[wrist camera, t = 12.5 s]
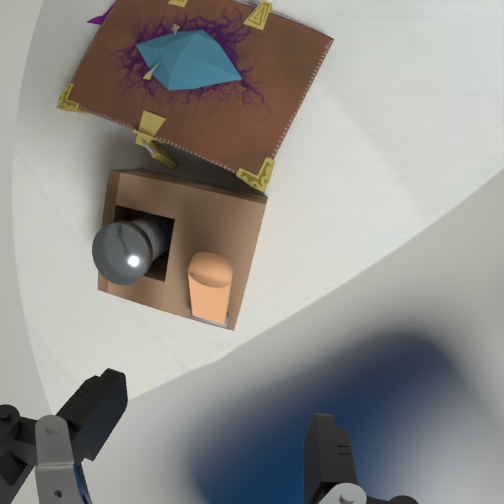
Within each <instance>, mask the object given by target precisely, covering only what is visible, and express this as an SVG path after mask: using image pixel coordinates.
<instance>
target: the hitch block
mask: <svg viewBox="0 0 504 504" xmlns="http://www.w3.org/2000/svg"><path fill="white" fill-rule="evenodd" d="M267 199H268V197H264V196H260V195H256V194H252V193H248V192H243V191H239V190H235V189H231V188H226V187H222V186H218V185H213V184H209V183H204V182H200V181H195V180H191V179H186V178H181V177H177V176H172V175H167V174H162V173H157V172H152V171H147V170H142V169H122V170H110V172H109V178H108V185H107V192H106V199H105V206H104V214H103V223H102V228H103V227H105V226H107V225H110V224H112V223H115V222H118V221H132V220H135V219H137V218H139V211H144V212H148V213H152V214H156V215H160V216H164V217H168V218H173V219H175V223H174V229H173V234H172V240H171V246H170V252H169V259H167V258H163V257H160V256H159V257H157V258H156V259H155V260H154V261H152V264H151V266H150V268H149V270H148V271H147V272H146V273H145V274H144V275H143V276H142V277H141V278H140V279H139V280H137V281H136V282H134V283H133V284H130V285H117V284H114V283H112V282H110V281H108V280H107V279H106V278H104V277H103V276H102V275H101V273H100V272H99V271H98V290H100V291H103V292H106V293H109V294H112V295H115V296H118V297H121V298H124V299H127V300H130V301H133V302H136V303H139V304H142V305H146V306H149V307H152V308H155V309H158V310H162V311H165V312H168V313H172V314H175V315H178V316H182V317H185V318H189V319H192V318H190V313H191V310H192V305H191V296H190V287H189V277H188V268H189V266H190V263H191V260H192V258H193V256H194V255H195V254H196V253H200V252H209V253H214V254H217V255H219V256H222V257H223V258H225V259H226V260H228V261H229V262H230V263H231V265H232V267H233V274H232V281H231V288H230V295H229V302H228V309H227V315H229V319H228V323H227V327H226V328H225V327H222V328H225V329H229V330H233V331H234V328H235V325H236V321H237V317H238V314H239V310H240V307H241V303H242V299H243V295H244V291H245V287H246V283H247V279H248V275H249V271H250V267H251V263H252V259H253V255H254V251H255V247H256V243H257V239H258V235H259V231H260V227H261V223H262V219H263V215H264V211H265V207H266V203H267ZM192 320H195V319H192ZM196 321H199V320H196ZM199 322H202V321H199ZM203 323H206V322H203ZM207 324H210V323H207ZM210 325H213V324H210ZM214 326H217V325H214ZM218 327H221V326H218Z"/></svg>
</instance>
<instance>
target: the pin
mask: <svg viewBox="0 0 504 504" xmlns="http://www.w3.org/2000/svg"><path fill="white" fill-rule="evenodd" d="M174 223H175V219H173V218H168V217H164V216H160V215H156V214H152V213H149V214H147V215H144V216H142V217H139V218H137V219H135V220H132V221H118V222H115V223H112V224H110V225H107V226H105V227H103V228H102V229H101V230H100V231H99V232H98V233H97V235H96V236H95V239H94V241H93V246H92V254H93V260H94V263H95V265H96V267H97V269H98V271H99V272H100V273H101V275H102V276H103V277H104V278H106V279H107V280H108V281H110V282H112V283H114V284H117V285H130V284H133V283H134V282H136V281H137V280H139V279H140V278H141V277H142V276H143V275H144V274H145V273H146V272H147V271H148V270H149V268H150V266H151V264H152V261H154V260H155V259H156V258H157V257H159V256H160V255H161V254H162V253H164V252H165V251H166V250H167V249H169V248H170V246H171V240H172V234H173V229H174Z"/></svg>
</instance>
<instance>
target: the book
mask: <svg viewBox="0 0 504 504" xmlns="http://www.w3.org/2000/svg"><path fill="white" fill-rule="evenodd" d="M88 23H94V24H102V25H101V27H100V29H99V30H98V32H97V34H96V35H95V37H94V39H93V41H92V42H91V44H90V46H89V48H88V50H87V51H86V53H85V55H84V57H83V59H82V61H81V63H80V65H79V67H78V69H77V71H76V73H75V75H74V77H73V79H72V81H71V83H68V84H67V86H66V87H65V89H64V91H63V92H62V94H61V95H60V97H59V100H58V104H57V108H59V109H62V110H66V111H74V112H82V113H91V114H94V115H97V116H99V117H102V118H105V119H107V120H110V121H112V122H115V123H118V124H120V125H123V126H125V127H128V128H130V129H133V131H132V132H135V133H137V137H136V141H135V143H136V144H139V145H141V146H143V147H146V148H147V150H148V151H149V152H150V154H151V156H152V157H153V158H155V159H157V160H159V161H161V162H162V163H164V164H165V165H167V166H168V167H169V168H171V169H173V168H174V167H175V166H176V164H175V162H174V161H173V160H172V158H171V157H170V155H169V154H168V153H167V152H166V151H165V149H164V148H163V147H162V146H161V145H160V144H159V143H157V142H155V141H158V142H161V143H167V144H169V145H172V146H174V147H177V148H179V149H181V150H184V151H186V152H188V153H190V154H193V155H195V156H197V157H200V158H202V159H204V160H206V161H209V162H211V163H213V164H215V165H217V166H220V167H222V168H224V169H226V170H228V171H231V172H233V173H235V174H236V176H237V177H239V178H240V179H242V180H243V181H244V182H246V183H247V184H248V185H250V186H251V187H253V188H255V189H257V190H259V191H262V192H264V191H265V189H266V186H267V184H268V182H269V180H270V176H271V173H272V170H273V166H274V162H275V161H274V158H275V156H276V154H277V152H278V150H279V148H280V146H281V144H282V142H283V140H284V138H285V136H286V133H287V131H288V129H289V127H290V125H291V123H292V121H293V119H294V117H295V116H296V114H297V112H298V110H299V108H300V106H301V104H302V102H303V100H304V98H305V96H306V94H307V92H308V90H309V88H310V86H311V84H312V82H313V80H314V78H315V76H316V74H317V72H318V70H319V68H320V66H321V64H322V62H323V60H324V58H325V56H326V54H327V52H328V51H329V49H330V47H331V45H332V43H333V41H334V39H333V38H331V37H329V36H327V35H325V34H323V33H320V32H318V31H316V30H314V29H311V28H309V27H307V26H305V25H303V24H301V23H300V22H298V21H296V20H294V19H292V18H289V17H287V16H284V15H282V14H279V13H276V12H273V11H272V3H270V2H267V1H264V0H263V1H262V2H261V3H260V5H259V6H256V5H252V4H249V3H246V2H243V1H239V0H117V1H116V2H115V3H114V4H113V5H112V6H111V8H110V9H109V10H108V11H107V12H106V13H105V14H104V15H103V16H99V17H95V18H93V19H91V20H89V21H88ZM154 140H155V141H154Z"/></svg>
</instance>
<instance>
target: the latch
mask: <svg viewBox="0 0 504 504" xmlns="http://www.w3.org/2000/svg"><path fill="white" fill-rule="evenodd" d="M232 274H233V267H232V265H231V263H230V262H229V261H228V260H226V259H225V258H223V257H222V256H219V255H217V254H214V253H209V252H200V253H196V254H195V255H194V256H193V258H192V260H191V263H190V266H189V268H188V277H189V287H190V296H191V305H192V310H191V313H190V318H192V319H195V320H199V321H202V322H206V323H210V324H213V325H217V326H221V327H225V328H226V327H227V323H228V319H229V315H227V309H228V302H229V295H230V288H231V281H232Z"/></svg>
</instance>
